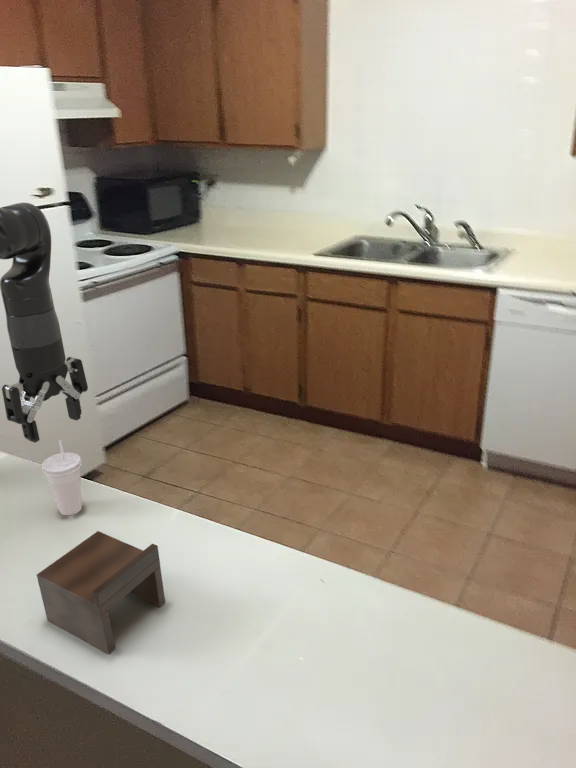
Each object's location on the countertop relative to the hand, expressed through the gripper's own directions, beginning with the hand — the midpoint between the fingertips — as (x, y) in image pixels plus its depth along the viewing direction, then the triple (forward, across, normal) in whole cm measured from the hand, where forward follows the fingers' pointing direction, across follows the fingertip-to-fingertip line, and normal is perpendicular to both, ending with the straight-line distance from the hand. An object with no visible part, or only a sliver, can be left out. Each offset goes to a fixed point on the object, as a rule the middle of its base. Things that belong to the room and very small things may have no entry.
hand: (54, 429), depth 110 cm
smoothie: (+16, 0, 0) cm, 16 cm away
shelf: (+16, +14, +24) cm, 32 cm away
